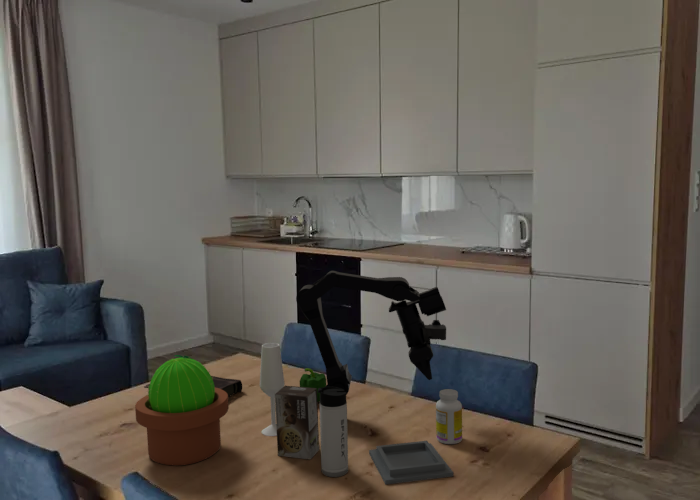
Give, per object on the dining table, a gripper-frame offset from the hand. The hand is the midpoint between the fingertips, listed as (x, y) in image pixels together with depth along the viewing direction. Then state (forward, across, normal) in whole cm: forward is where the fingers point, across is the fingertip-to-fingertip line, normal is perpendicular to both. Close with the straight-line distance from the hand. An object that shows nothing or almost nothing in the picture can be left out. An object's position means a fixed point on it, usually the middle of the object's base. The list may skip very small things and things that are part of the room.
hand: (429, 374), depth 172 cm
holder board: (+11, -26, +10) cm, 30 cm away
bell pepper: (+2, +16, +37) cm, 41 cm away
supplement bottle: (+14, -12, 0) cm, 19 cm away
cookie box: (+2, -21, +36) cm, 42 cm away
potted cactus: (-7, -20, +64) cm, 68 cm away
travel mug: (+6, -30, +27) cm, 41 cm away
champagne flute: (0, -8, +45) cm, 45 cm away
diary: (-10, +20, +75) cm, 78 cm away
